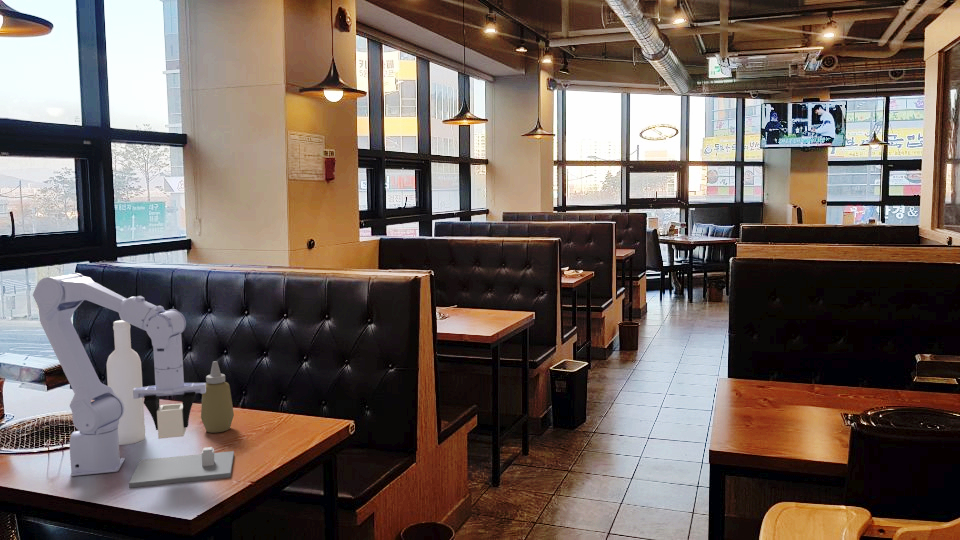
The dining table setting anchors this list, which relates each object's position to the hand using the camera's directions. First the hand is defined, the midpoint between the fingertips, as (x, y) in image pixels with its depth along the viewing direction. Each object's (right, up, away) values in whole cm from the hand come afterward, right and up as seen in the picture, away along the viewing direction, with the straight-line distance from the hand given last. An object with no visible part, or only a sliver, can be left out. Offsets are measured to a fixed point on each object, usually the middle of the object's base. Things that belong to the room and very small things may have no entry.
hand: (172, 427), depth 160 cm
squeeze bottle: (-1, -7, +30) cm, 31 cm away
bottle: (-20, -8, +22) cm, 31 cm away
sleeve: (0, -1, 0) cm, 1 cm away
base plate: (+2, -10, +2) cm, 10 cm away
